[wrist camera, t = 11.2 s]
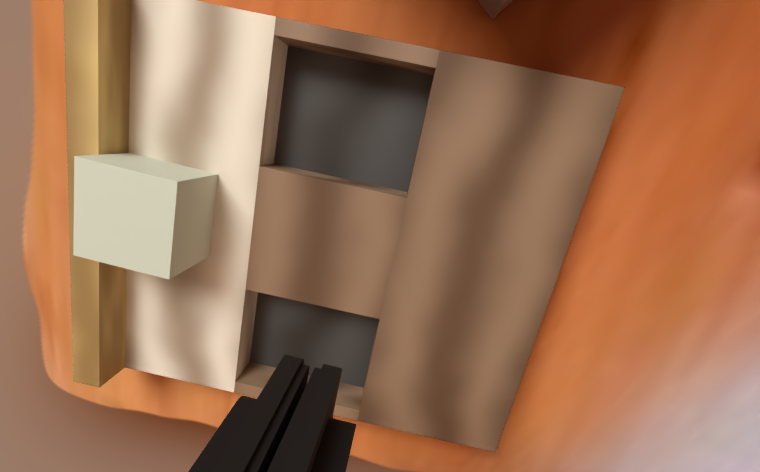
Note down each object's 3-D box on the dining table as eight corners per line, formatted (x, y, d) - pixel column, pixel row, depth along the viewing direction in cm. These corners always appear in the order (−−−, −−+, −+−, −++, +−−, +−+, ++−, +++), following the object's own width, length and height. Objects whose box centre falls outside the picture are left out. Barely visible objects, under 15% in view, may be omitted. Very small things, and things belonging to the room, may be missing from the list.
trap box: (599, 93, 25) (651, 80, 19) (487, 423, 32) (503, 481, 26) (135, -1, 25) (62, -38, 20) (128, 341, 32) (73, 381, 27)
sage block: (218, 174, 25) (177, 181, 21) (208, 256, 27) (169, 279, 22) (132, 153, 25) (74, 156, 21) (128, 236, 27) (73, 255, 22)
